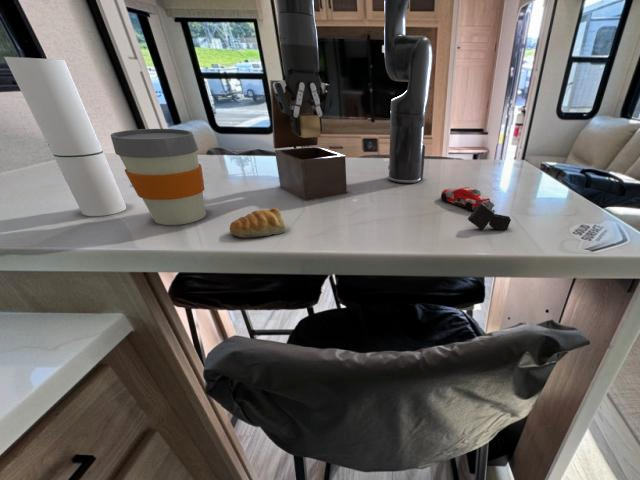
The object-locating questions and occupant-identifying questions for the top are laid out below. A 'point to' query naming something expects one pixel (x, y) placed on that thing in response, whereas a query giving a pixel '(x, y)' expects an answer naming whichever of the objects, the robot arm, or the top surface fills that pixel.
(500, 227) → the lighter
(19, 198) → the top surface
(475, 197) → the race car
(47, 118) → the cylindrical container
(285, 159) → the chest
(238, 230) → the pastry
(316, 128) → the block
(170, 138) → the reusable coffee cup
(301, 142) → the lid
